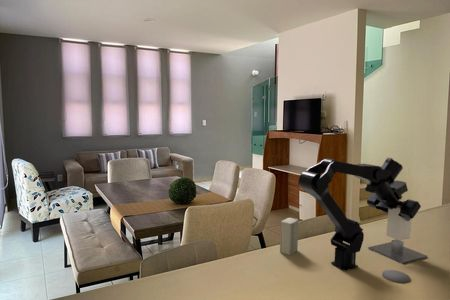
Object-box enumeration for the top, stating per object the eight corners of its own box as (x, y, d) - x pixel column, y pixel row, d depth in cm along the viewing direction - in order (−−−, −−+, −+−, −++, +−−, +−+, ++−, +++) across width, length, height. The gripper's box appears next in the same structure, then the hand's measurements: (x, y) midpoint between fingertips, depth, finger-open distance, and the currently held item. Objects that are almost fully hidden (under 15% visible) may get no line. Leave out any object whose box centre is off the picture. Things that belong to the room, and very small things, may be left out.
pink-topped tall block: (399, 240, 126) (402, 207, 125) (386, 235, 131) (388, 204, 130) (410, 238, 128) (412, 206, 127) (396, 233, 133) (398, 202, 132)
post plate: (403, 264, 121) (403, 251, 120) (368, 248, 134) (368, 237, 134) (427, 257, 126) (428, 245, 126) (391, 243, 140) (392, 232, 139)
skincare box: (287, 247, 135) (288, 216, 133) (298, 250, 132) (299, 219, 130) (279, 252, 130) (280, 220, 128) (289, 255, 127) (290, 223, 126)
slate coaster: (398, 285, 106) (398, 283, 106) (376, 274, 113) (376, 272, 113) (415, 279, 109) (415, 278, 109) (393, 269, 117) (393, 268, 117)
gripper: (419, 178, 117) (437, 207, 123) (374, 170, 134) (392, 196, 140) (401, 204, 114) (421, 232, 120) (357, 192, 131) (376, 217, 137)
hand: (402, 217), depth 129 cm, fingers closed on pink-topped tall block, 6 cm apart
